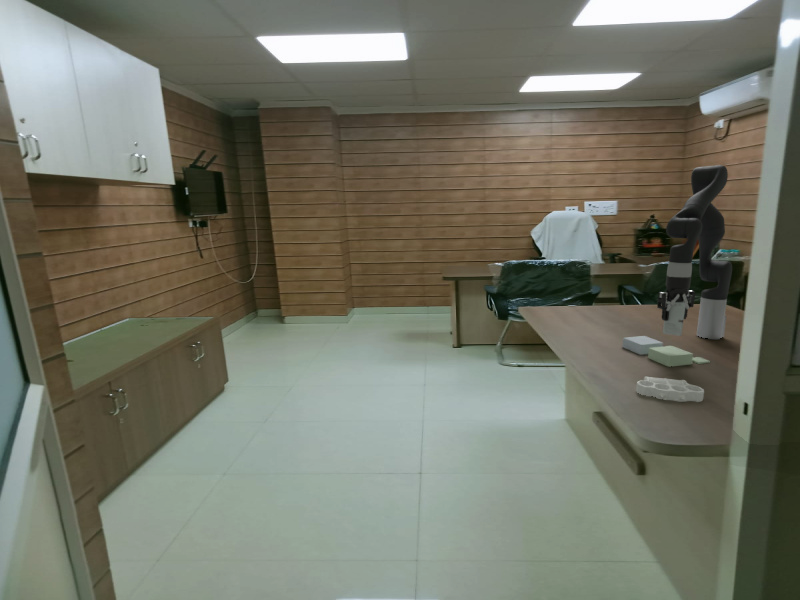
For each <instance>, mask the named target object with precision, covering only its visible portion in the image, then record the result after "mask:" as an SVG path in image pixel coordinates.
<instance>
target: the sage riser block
mask: <svg viewBox="0 0 800 600" xmlns="http://www.w3.org/2000/svg"><path fill="white" fill-rule="evenodd" d="M693 357H694V353H692V352H689V351H686V350H684V349H681V348H679V347H677V346H673V345H666V346H664V345H663V347H653V348H649V353H648V354H647V358H648V359H649V360H652V361H653V362H656V363H659V364H661V365H663V366H666V367H669V368H672V367H678V366H687V365H689V366H690V365H693V362H692V359H693ZM671 366H672V367H671Z"/></svg>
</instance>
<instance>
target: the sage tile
mask: <svg viewBox="0 0 800 600" xmlns="http://www.w3.org/2000/svg"><path fill="white" fill-rule="evenodd" d="M692 363H695V364H698V365H704V364H710V363H711V361H710V360H708V359H705V358H704V357H700V356H696V357H694V356H693V359H692Z"/></svg>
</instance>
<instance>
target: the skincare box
mask: <svg viewBox="0 0 800 600" xmlns="http://www.w3.org/2000/svg"><path fill="white" fill-rule="evenodd" d="M667 302H670V301H667ZM667 306H668V304H667ZM667 306H666V307H667ZM685 307H686V302H675V303H674V305H673V306H671V308H670V309H669V319H668V321H664V320H663V328H662V334H663V335H668V336H669V335H670V336H671V335H672V336H679V337H681V336H682V334H683V333H682V332H683V327H684V320H685V319H684V314H685Z"/></svg>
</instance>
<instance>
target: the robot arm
mask: <svg viewBox="0 0 800 600" xmlns="http://www.w3.org/2000/svg"><path fill="white" fill-rule="evenodd" d="M728 175H729V172H728V168H727V167H726V166H725V165H722V164H721V165H720V164H718V165H717V164H715V165H706V166H698V167H695V168H694V169H693V170H692V172H691V176H690V182H691V185H690V186H691V190H692V196H690V197H689V198H688V199H687V200H686V202H685V203H684V205H683V207H682V208H681V210H680V211H678V212H677V213H676V214H675V215H674V216H673V217H671V218H670V219H669V221H668V222H667V225H666V228H665V231H666V235H667V236H668V237H670V238H672V239H687V240H686V241H685V243H682V244H676V245H672V246H671V247H670V249H669V258H668V265H667V269H666V270H667V271H666V278H665V279H666V280H665V287H666V291H665V292H662V291H659V292H658V294H657V305H656V307H657V309H659V310H661V320H662V321H663V322H664V321H668V319H669V309H670V308H671V306H673V305H674V303H675V302H686V307H685V314H684V320H686V319H687V318H688V313H689V312H688V311H689V309H690V308H693V307H694V304H695V299H696V298H695V297H696V291H694V290H692V289H691V290H690V288H691V282H692V274H693V273H692V271H693V255H694V250H695V247H696V244H697V241H698V248H699V249H698V250H699V252H698V253H699V260H698V261H699V264H698V265H699V267H698V268H699V270H698V271H699V277H700V279H701V280H702V281H704V282H711V283H717V285H716V286H715V287H712V288H708V289H703V290H702V291H701V294H700V295H701V296H700V303H699V304H700V305H699V312H698V319H697V329H696V336H697V337H698V336H699V337H698V338H701V337H702V339H705V338H708V339H707V340H721V339H720V338H722V337H724V338H725V332H726V331H725V330H726V323H727V315H726V309H727V302H728V301H727V300H728V295H729V289H730V284H731V279H732V275H733V274H732V273H733V265H732V263H731V261H728V260H718V259H712V253H713V250H714V249H715V248H716V247H717V246H718V245H719V243H720V242H721V241H722V239H723V238H724V236H725V234H726V233H725V232H726V231H725V230H726V227H725V217H724V215H723V214H722V213H721V212H720V211H719V209H718V208H717V207H716V206H715V205H714V204H713V203H712V202H713V201H714V200H715V199H716V198H717V196H718V195H719V194H720V193H721V192H722V191H723V189H724V188H725V187H726V184H727V183H728V177H729V176H728ZM667 301H670V302H667ZM667 304H668V306H667ZM666 306H667V307H666ZM722 339H723V338H722Z"/></svg>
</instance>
